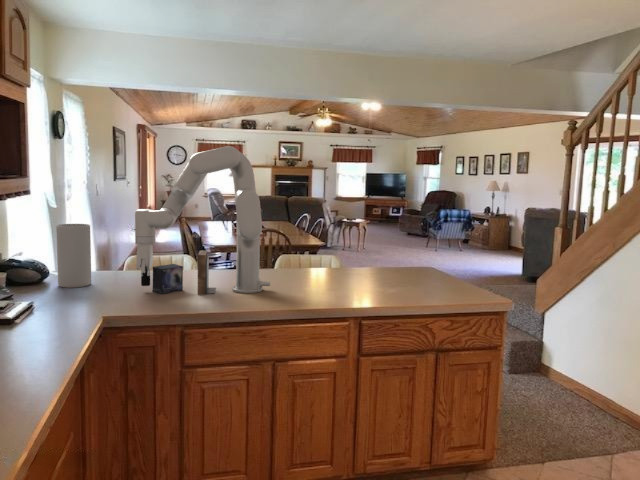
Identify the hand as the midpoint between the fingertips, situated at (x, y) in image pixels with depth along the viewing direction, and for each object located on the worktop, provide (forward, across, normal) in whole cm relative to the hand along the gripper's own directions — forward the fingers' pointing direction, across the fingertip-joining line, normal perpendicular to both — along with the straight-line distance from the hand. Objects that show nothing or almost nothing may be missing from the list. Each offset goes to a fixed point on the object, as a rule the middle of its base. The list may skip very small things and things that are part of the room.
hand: (145, 285), depth 204 cm
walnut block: (+3, 0, +22) cm, 22 cm away
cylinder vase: (+3, -12, -30) cm, 33 cm away
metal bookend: (+3, 0, +26) cm, 26 cm away
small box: (+3, 0, +9) cm, 9 cm away
